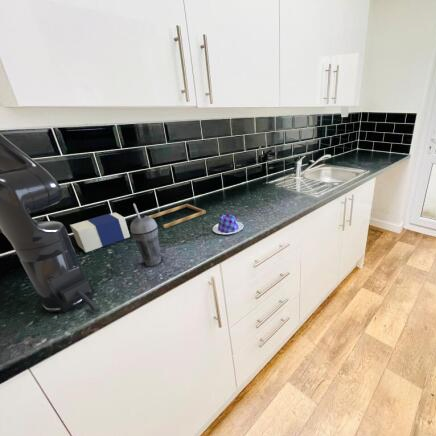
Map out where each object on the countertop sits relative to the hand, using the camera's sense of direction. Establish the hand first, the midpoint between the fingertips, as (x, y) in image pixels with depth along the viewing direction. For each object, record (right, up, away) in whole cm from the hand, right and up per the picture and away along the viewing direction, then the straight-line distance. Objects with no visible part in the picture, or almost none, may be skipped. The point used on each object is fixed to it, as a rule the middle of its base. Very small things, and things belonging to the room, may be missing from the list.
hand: (68, 238), depth 85 cm
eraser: (+6, -1, +9) cm, 10 cm away
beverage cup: (+30, -7, -4) cm, 31 cm away
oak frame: (+23, +8, +29) cm, 38 cm away
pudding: (+49, +2, +17) cm, 52 cm away
